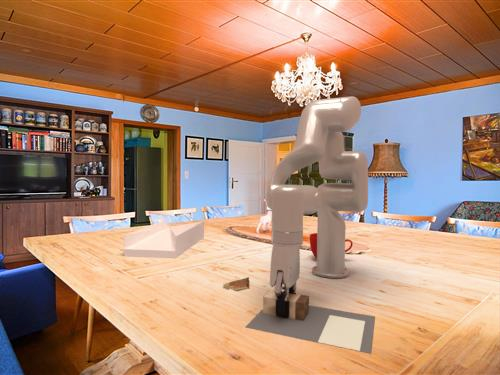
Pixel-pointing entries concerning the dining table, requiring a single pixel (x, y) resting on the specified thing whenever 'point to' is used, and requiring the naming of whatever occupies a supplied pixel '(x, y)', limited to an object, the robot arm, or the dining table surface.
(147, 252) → the hipped roof block
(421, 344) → the dining table surface
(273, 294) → the tan tapered block
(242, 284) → the shard
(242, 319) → the dining table surface
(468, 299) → the dining table surface
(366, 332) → the mat
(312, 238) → the ceramic cup
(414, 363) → the dining table surface
